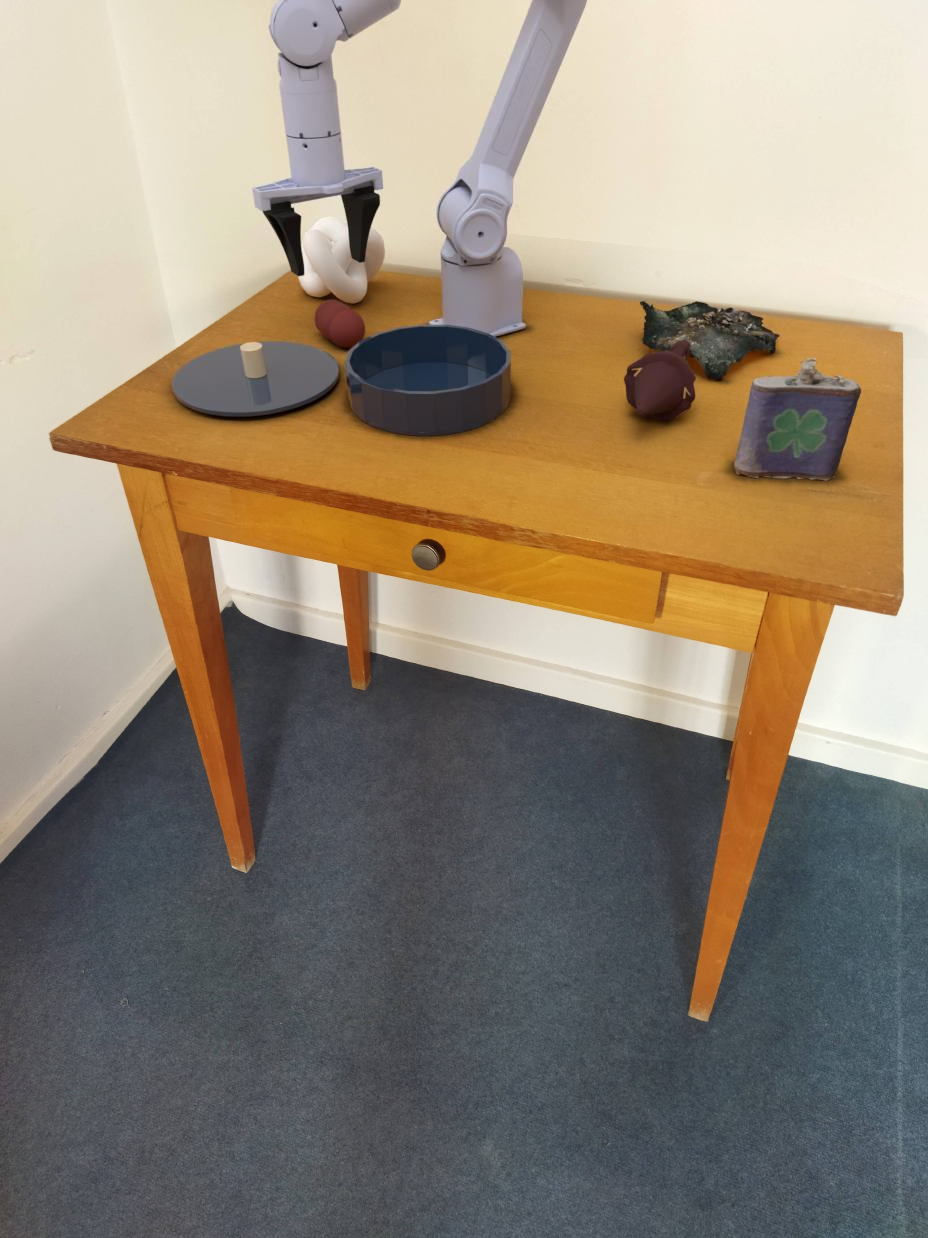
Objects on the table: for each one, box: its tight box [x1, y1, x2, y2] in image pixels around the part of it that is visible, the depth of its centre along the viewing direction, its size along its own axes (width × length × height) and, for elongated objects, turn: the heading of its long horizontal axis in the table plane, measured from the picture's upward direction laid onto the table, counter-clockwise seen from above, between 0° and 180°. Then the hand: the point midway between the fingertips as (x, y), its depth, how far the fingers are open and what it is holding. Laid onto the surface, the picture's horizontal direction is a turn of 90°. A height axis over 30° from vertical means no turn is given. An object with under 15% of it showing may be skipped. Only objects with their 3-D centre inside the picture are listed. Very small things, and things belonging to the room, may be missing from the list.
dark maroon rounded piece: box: [623, 340, 697, 422], centre depth 88 cm, size 7×7×15 cm
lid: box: [171, 340, 340, 418], centre depth 97 cm, size 18×18×4 cm
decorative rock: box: [639, 300, 780, 382], centre depth 102 cm, size 19×6×15 cm
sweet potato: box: [314, 299, 366, 349], centre depth 105 cm, size 4×8×4 cm, turn 33°
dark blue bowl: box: [344, 324, 512, 437], centre depth 93 cm, size 17×17×5 cm
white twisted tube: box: [297, 216, 386, 304], centre depth 116 cm, size 11×12×9 cm
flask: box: [733, 357, 862, 481], centre depth 78 cm, size 9×3×11 cm, turn 83°
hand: (328, 266), depth 100 cm, fingers open, 7 cm apart
